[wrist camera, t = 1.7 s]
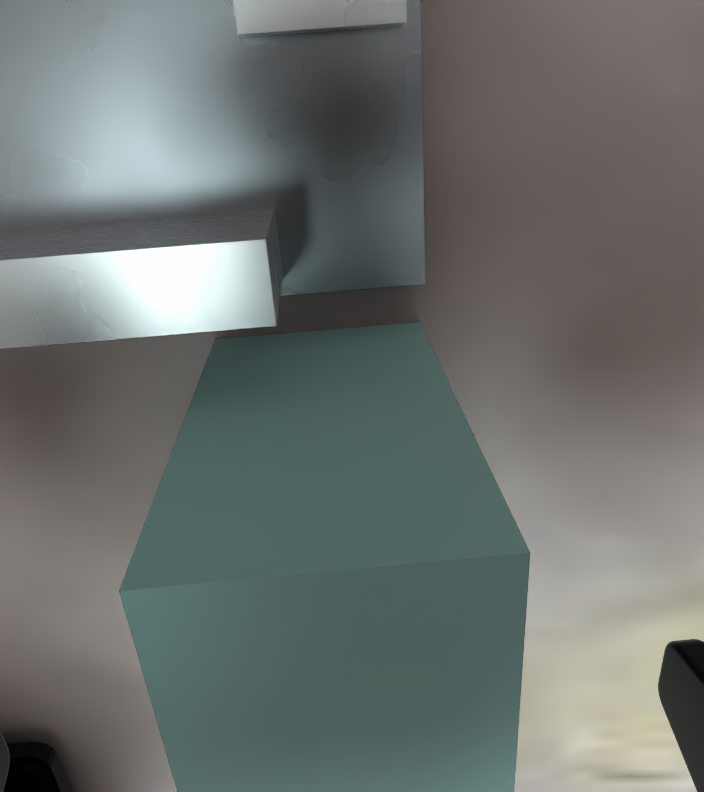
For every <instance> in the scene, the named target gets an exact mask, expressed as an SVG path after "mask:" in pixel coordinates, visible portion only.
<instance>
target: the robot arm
mask: <svg viewBox="0 0 704 792" xmlns="http://www.w3.org/2000/svg"><path fill="white" fill-rule="evenodd" d="M658 691H659V696H660V700H661V703H662V706H663V708H664V711H665V713H666V716H667V718H668V720H669V723H670V725H671V728H672V730H673V733H674V735H675V738H676V740H677V743H678V745H679V748H680V750H681V753H682V755H683V758H684V760H685V763H686V765H687V767H688V770H689V772H690V775H691V777H692V780H693V782H694V785H695V787H696V790H697V792H704V642H703V641H700V640H697V639H690V640H680V641H672V642H669V643H668V645H667V646H666V648H665V652H664V657H663V662H662V667H661V672H660V677H659V683H658ZM0 792H72V790H71V788H70V785H69V783H68V780H67V778H66V775H65V773H64V770H63V768H62V765H61V763H60V760H59V758H58V755H57V753H56V752H55V750H54V749H53V748H52V747H50V746H49V745H47V744H44V743H41V742H25V743H15V744H6V742H5V740H4V738H3V735H2V733H1V731H0Z"/></svg>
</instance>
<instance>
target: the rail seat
mask: <svg viewBox="0 0 704 792" xmlns="http://www.w3.org/2000/svg"><path fill="white" fill-rule="evenodd" d="M419 284H426V280H425V222H424V165H423V107H422V49H421V0H0V349H5V348H17V347H29V346H41V345H54V344H66V343H78V342H90V341H102V340H114V339H126V338H138V337H150V336H162V335H174V334H186V333H198V332H210V331H222V330H234V329H246V328H258V327H270V326H276V325H277V318H278V311H279V303H280V296H285V295H297V294H309V293H322V292H334V291H346V290H358V289H370V288H383V287H395V286H407V285H419Z"/></svg>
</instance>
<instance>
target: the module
mask: <svg viewBox="0 0 704 792" xmlns="http://www.w3.org/2000/svg"><path fill="white" fill-rule="evenodd" d="M529 562H530V551H529V549H528V547H527V545H526V543H525V541H524V539H523V537H522V535H521V533H520V530H519V528H518V526H517V524H516V522H515V520H514V518H513V516H512V514H511V512H510V510H509V508H508V506H507V503H506V501H505V499H504V497H503V495H502V493H501V491H500V489H499V487H498V485H497V483H496V481H495V478H494V476H493V474H492V472H491V470H490V468H489V466H488V464H487V462H486V460H485V458H484V456H483V453H482V451H481V449H480V447H479V445H478V443H477V441H476V439H475V437H474V435H473V433H472V431H471V429H470V426H469V424H468V422H467V420H466V418H465V416H464V414H463V412H462V410H461V408H460V406H459V404H458V401H457V399H456V397H455V395H454V393H453V391H452V389H451V387H450V385H449V383H448V381H447V379H446V376H445V374H444V372H443V370H442V368H441V366H440V364H439V362H438V360H437V358H436V356H435V354H434V352H433V349H432V347H431V345H430V343H429V341H428V339H427V337H426V335H425V333H424V331H423V329H422V327H421V324H420V322H413V323H401V324H389V325H378V326H366V327H354V328H342V329H330V330H318V331H306V332H294V333H282V334H270V335H258V336H246V337H234V338H222V339H215V341H214V343H213V346H212V349H211V351H210V354H209V356H208V359H207V362H206V364H205V367H204V370H203V372H202V375H201V377H200V380H199V383H198V385H197V388H196V391H195V393H194V396H193V398H192V401H191V404H190V406H189V409H188V412H187V414H186V417H185V419H184V422H183V425H182V427H181V430H180V433H179V435H178V438H177V440H176V443H175V446H174V448H173V451H172V454H171V456H170V459H169V461H168V464H167V467H166V469H165V472H164V475H163V477H162V480H161V482H160V485H159V488H158V490H157V493H156V496H155V498H154V501H153V503H152V506H151V509H150V511H149V514H148V516H147V519H146V522H145V524H144V527H143V530H142V532H141V535H140V537H139V540H138V543H137V545H136V548H135V551H134V553H133V556H132V558H131V561H130V564H129V566H128V569H127V572H126V574H125V577H124V579H123V582H122V585H121V587H120V590H119V592H120V596H121V599H122V603H123V606H124V610H125V613H126V617H127V620H128V623H129V627H130V630H131V634H132V637H133V641H134V644H135V647H136V651H137V654H138V658H139V661H140V665H141V668H142V672H143V675H144V678H145V682H146V685H147V689H148V692H149V696H150V699H151V702H152V706H153V709H154V713H155V716H156V720H157V723H158V727H159V730H160V733H161V737H162V740H163V744H164V747H165V751H166V754H167V757H168V761H169V764H170V768H171V771H172V775H173V778H174V782H175V785H176V788H177V792H514V785H515V770H516V755H517V740H518V725H519V710H520V695H521V681H522V666H523V651H524V636H525V621H526V606H527V592H528V577H529Z"/></svg>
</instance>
